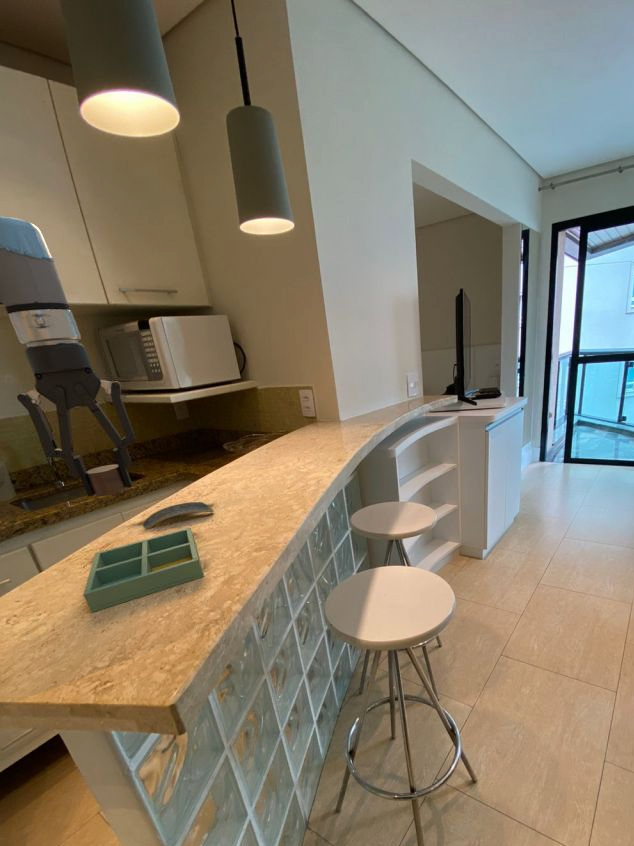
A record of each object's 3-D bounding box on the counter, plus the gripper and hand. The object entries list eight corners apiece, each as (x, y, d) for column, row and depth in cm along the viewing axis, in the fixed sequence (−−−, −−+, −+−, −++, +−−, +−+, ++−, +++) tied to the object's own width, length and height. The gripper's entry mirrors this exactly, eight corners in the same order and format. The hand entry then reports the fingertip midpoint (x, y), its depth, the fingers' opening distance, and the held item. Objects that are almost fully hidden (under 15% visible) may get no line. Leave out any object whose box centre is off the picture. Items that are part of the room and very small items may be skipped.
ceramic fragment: (144, 530, 86) (138, 513, 84) (148, 521, 90) (143, 505, 89) (214, 516, 89) (209, 499, 88) (215, 508, 94) (210, 492, 93)
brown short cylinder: (96, 491, 71) (87, 469, 70) (128, 483, 73) (120, 462, 72) (93, 498, 67) (83, 475, 66) (127, 490, 69) (118, 468, 68)
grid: (101, 568, 71) (95, 552, 70) (195, 541, 78) (190, 527, 76) (91, 612, 59) (83, 594, 57) (204, 576, 65) (198, 559, 64)
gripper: (-33, 350, 54) (43, 510, 63) (120, 336, 62) (168, 481, 71) (-15, 352, 60) (52, 497, 70) (122, 339, 68) (166, 472, 77)
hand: (110, 489), depth 70 cm, fingers closed on brown short cylinder, 5 cm apart
